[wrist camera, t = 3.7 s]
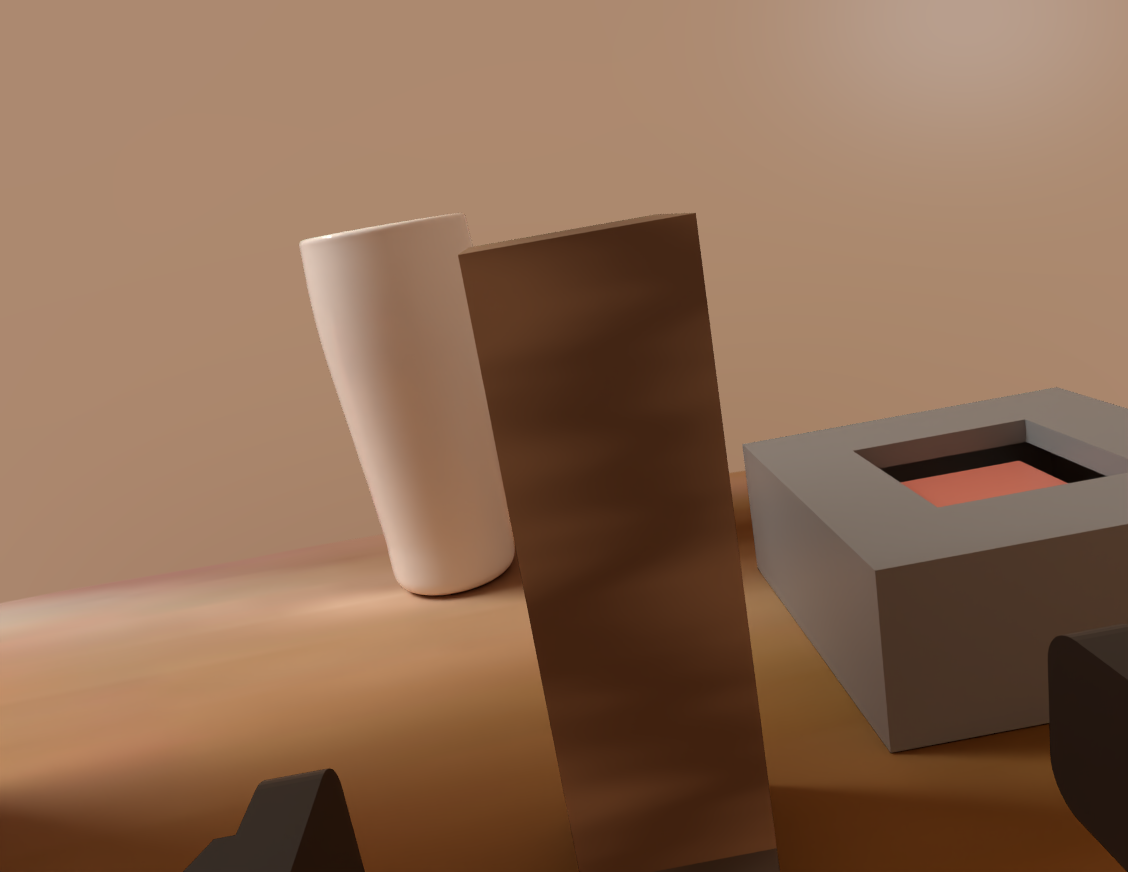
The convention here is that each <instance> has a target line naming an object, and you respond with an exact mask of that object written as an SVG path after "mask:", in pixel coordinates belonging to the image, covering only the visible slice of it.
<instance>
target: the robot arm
mask: <svg viewBox="0 0 1128 872" xmlns="http://www.w3.org/2000/svg"><path fill="white" fill-rule="evenodd" d="M1048 690H1049V724H1050V755H1051V764H1052V769H1053V773H1054V777H1055V779H1056V782H1057V785H1058V787H1059V790H1060V792H1061V794H1062V796H1063V798H1064V800H1065V802H1066V804H1067V805H1068V807H1069V808H1070V810H1071V811H1072V813H1073V814H1074V815H1075V817H1076V818H1077V819H1078V820H1079V821H1080V822H1081V823H1082V824H1083V825H1084V827H1085V828H1086V829H1087V830H1088V831H1089V832H1090V833H1091V834H1092V835H1093V836H1094V837H1095V838H1096V839H1097V840H1098V841H1099V842H1100V843H1101V845H1102V846H1103V847H1104V848H1105V849H1106V850H1107V851H1108V852H1109V853H1110V854H1111V855H1112V856H1113V857H1114V858H1115V859H1116V860H1117V861H1118V863H1119V864H1120V865H1121V866H1122V867H1123V868H1124V869H1125V870H1126V871H1127V872H1128V624H1119V625H1114V626H1108V627H1103V628H1097V629H1092V630H1087V631H1081V632H1076V633H1070V634H1065V635H1060V636H1057V637H1055V638H1054V639H1053V640H1052V641H1051V643H1050V646H1049V649H1048ZM183 872H365V871H364V867H363V864H362V860H361V856H360V853H359V849H358V845H357V841H356V838H355V834H354V830H353V827H352V823H351V819H350V816H349V812H348V808H347V804H346V801H345V797H344V793H343V790H342V786H341V783H340V780H339V778H338V776H337V774H336V773H335V771H334V770H333V769H323V770H318V771H313V772H307V773H302V774H296V775H291V776H286V777H280V778H275V779H269V780H264V781H262V782H261V783H260V784H259V785H258V787H257V789H256V790H255V793H254V795H253V797H252V799H251V802H250V804H249V806H248V808H247V811H246V813H245V815H244V817H243V820H242V822H241V824H240V827H239V829H238V831H237V833H236V835H234V836H228V837H223V838H218V839H214V840H213V841H212V842H211V843H210V844H209V845H208V846H207V847H206V848H205V849H204V850H203V851H202V852H201V853H200V855H199V856H198V857H197V858H196V859H195V860H194V861H193V862H192V863H191V864H190V865H189V866H188V867H187V868H186V869H185V870H184V871H183Z"/></svg>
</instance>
